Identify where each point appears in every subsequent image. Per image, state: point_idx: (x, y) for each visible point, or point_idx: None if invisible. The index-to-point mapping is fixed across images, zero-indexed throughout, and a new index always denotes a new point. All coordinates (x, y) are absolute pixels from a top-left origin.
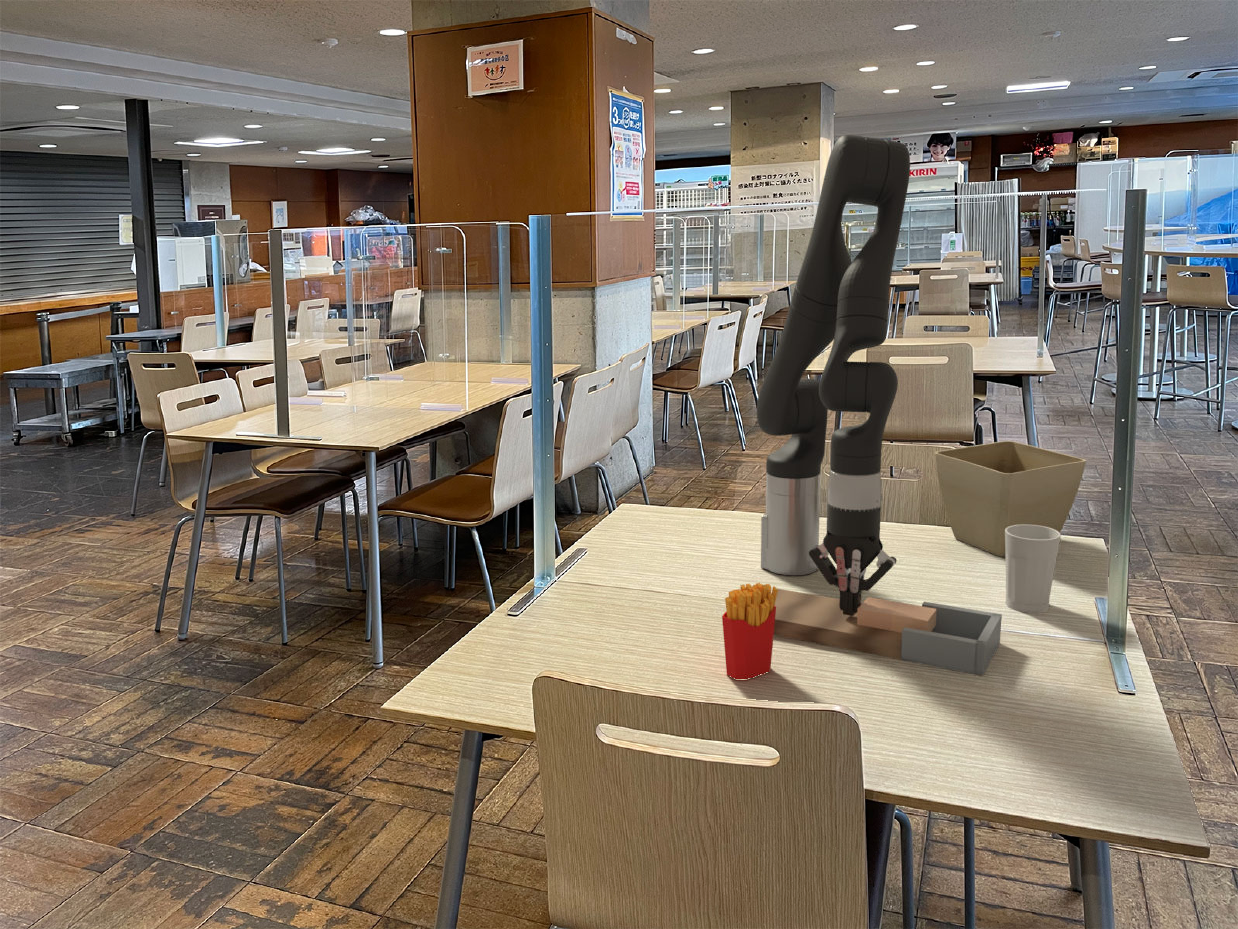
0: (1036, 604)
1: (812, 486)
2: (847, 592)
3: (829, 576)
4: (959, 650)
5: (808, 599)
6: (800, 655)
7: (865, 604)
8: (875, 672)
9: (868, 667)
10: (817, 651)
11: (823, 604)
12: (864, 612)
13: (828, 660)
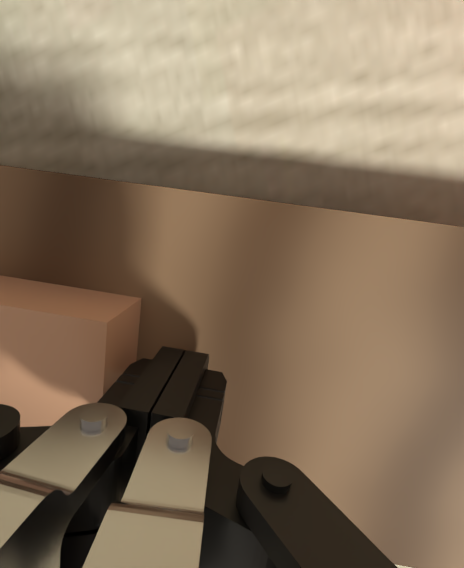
0: None
1: None
2: (156, 414)
3: (296, 521)
4: None
5: (397, 510)
6: (344, 58)
7: (82, 386)
8: (33, 8)
9: (68, 47)
10: (283, 129)
11: (323, 472)
12: (78, 311)
13: (224, 53)
